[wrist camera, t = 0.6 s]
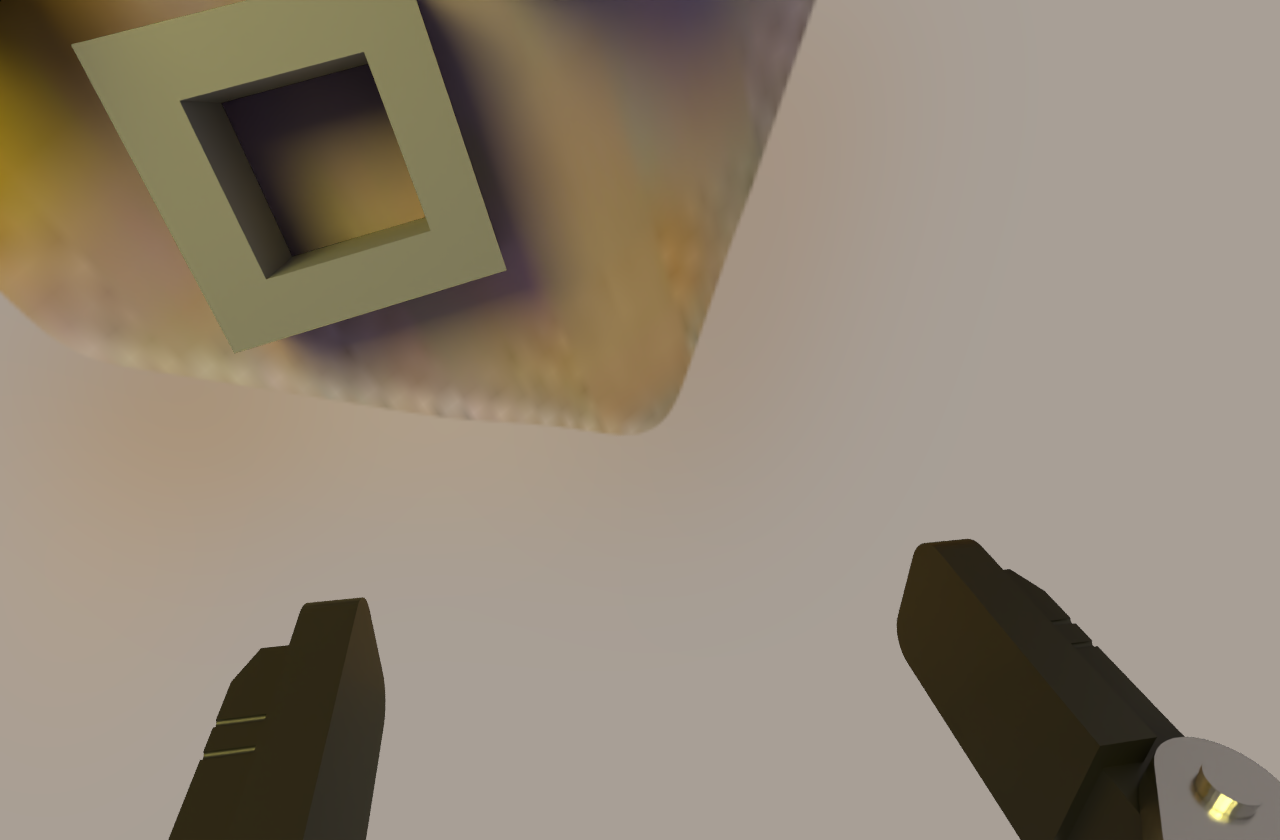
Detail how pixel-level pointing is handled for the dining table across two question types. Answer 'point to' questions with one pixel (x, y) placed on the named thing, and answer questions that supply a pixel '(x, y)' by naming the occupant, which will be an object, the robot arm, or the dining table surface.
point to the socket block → (227, 188)
